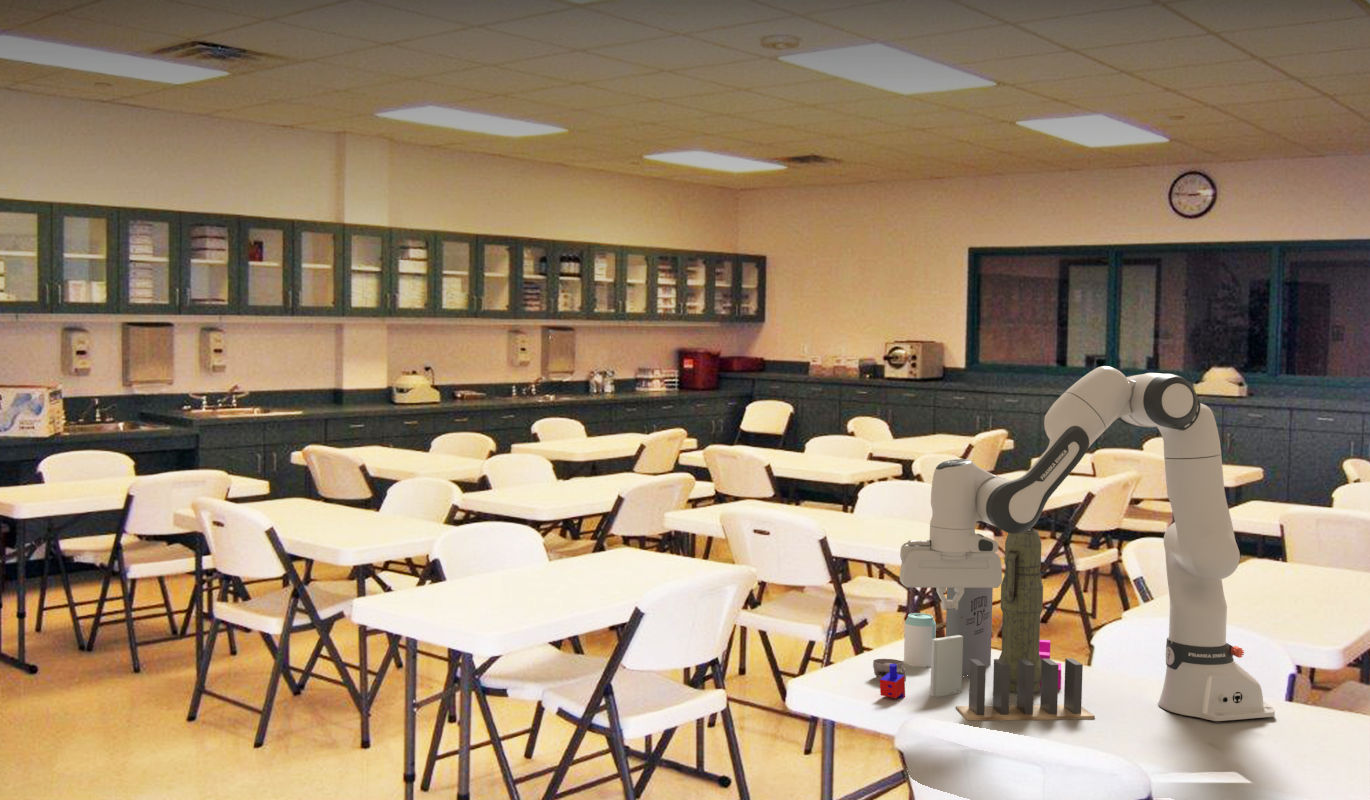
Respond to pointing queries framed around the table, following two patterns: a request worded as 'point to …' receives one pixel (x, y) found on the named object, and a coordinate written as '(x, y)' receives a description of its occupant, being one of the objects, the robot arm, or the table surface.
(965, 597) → the flask
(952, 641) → the external hard drive
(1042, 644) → the toy block
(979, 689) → the tile
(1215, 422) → the robot arm
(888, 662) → the dental mold
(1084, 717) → the oak board
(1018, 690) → the tile
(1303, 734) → the table surface
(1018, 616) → the thermos
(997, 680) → the tile
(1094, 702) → the table surface
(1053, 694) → the tile
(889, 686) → the toy building block
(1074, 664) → the tile
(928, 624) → the can
